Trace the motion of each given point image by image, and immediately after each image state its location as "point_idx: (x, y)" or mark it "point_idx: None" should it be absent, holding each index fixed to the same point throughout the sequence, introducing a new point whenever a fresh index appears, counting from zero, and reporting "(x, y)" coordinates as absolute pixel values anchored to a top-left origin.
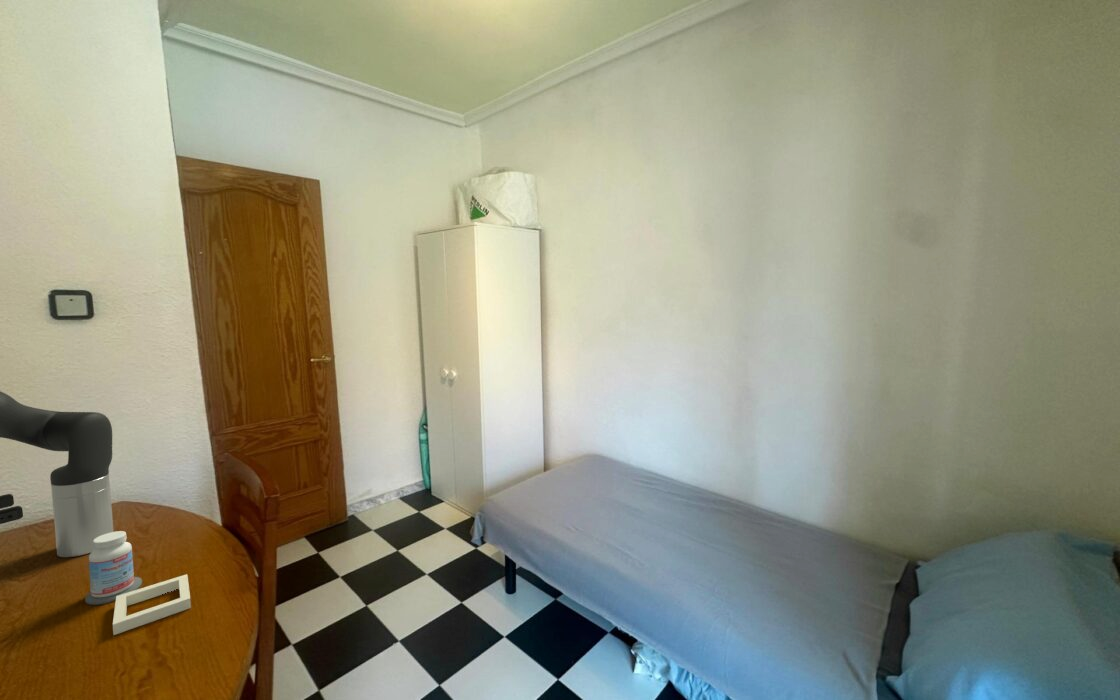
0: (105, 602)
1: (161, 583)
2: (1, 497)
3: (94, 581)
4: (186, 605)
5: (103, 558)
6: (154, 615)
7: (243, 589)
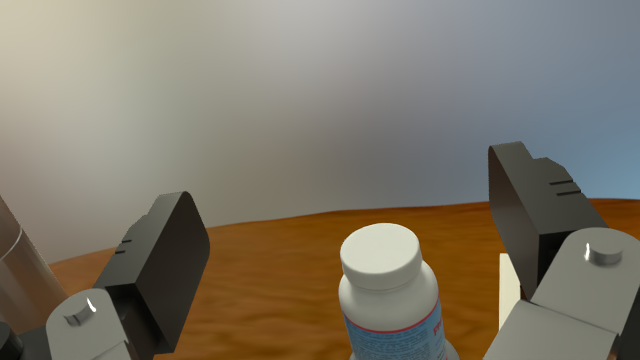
0: None
1: (509, 289)
2: (173, 218)
3: None
4: None
5: (431, 299)
6: None
7: (625, 214)
